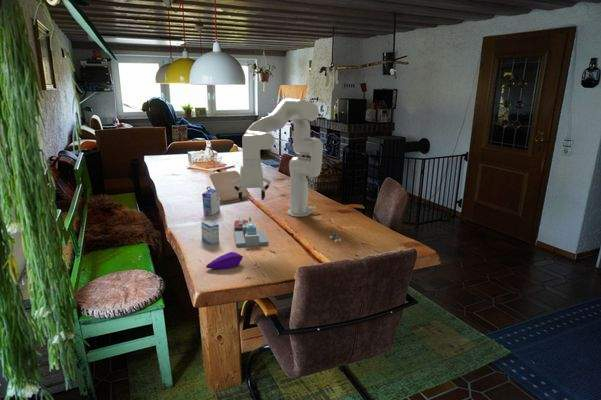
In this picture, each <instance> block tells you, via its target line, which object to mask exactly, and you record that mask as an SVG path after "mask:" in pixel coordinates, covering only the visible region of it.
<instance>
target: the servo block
mask: <svg viewBox="0 0 601 400" xmlns="http://www.w3.org/2000/svg"><path fill="white" fill-rule="evenodd" d="M255 225H256V223H255V222H252V223H246V225H245V228H246V234H247V235H248V234H256V230H257V225H256V226H255Z"/></svg>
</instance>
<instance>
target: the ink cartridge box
mask: <svg viewBox="0 0 601 400" xmlns="http://www.w3.org/2000/svg"><path fill="white" fill-rule="evenodd" d="M201 195H202V197H201V198H202V208H203V209H202V210H203V215H204V216H209V217H211V216H214V215H215V214H217V213H218V212H220V211H221V205H220V202H219V190H216V189H215V188H212V187H211V186H210V185H209V186H207V187H206V191H204V192H202V194H201Z"/></svg>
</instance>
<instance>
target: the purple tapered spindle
mask: <svg viewBox="0 0 601 400" xmlns="http://www.w3.org/2000/svg"><path fill="white" fill-rule="evenodd" d="M243 257H244V256H243V255H241V254H239V253H238V252H235V251H231V252H228V253H225V254H222V255H220V256H218V257H217V258H215V259H214V260H212V261H210V262H209V263H208V264H207V265H205V268H207V269H211V270H226V269H232V268H236V267H238V266H239V265H240V263H241V262H242V260H243Z"/></svg>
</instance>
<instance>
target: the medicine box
mask: <svg viewBox="0 0 601 400" xmlns="http://www.w3.org/2000/svg"><path fill="white" fill-rule="evenodd" d="M200 224H201V226H200V228H201V230H200V231H201V240H202V241H204V242H205V243H207V244H209V245H215V244H218V243H220V225H219V224H218V223H216V222H213V221H212V220H205V221H201V222H200Z"/></svg>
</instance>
